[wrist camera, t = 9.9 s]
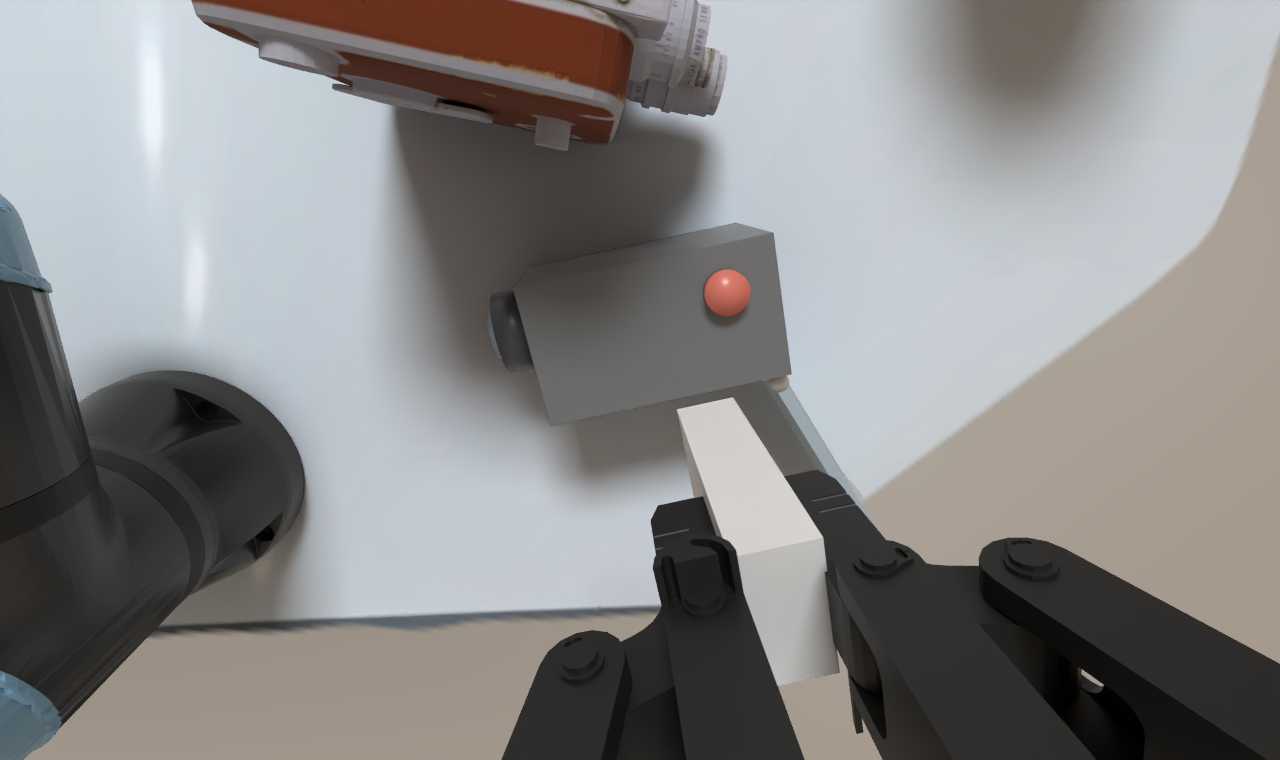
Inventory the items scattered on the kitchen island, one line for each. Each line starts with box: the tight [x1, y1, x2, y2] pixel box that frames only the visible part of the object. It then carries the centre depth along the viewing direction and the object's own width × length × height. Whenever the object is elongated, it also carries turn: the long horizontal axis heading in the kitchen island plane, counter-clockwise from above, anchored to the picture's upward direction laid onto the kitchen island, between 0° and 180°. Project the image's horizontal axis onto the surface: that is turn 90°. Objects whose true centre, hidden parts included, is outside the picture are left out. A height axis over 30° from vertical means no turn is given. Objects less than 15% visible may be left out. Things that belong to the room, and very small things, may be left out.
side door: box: [763, 376, 874, 525], centre depth 40 cm, size 13×2×7 cm, turn 33°
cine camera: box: [192, 0, 727, 151], centre depth 27 cm, size 9×19×20 cm, turn 79°
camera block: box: [487, 223, 791, 426], centre depth 37 cm, size 16×8×10 cm, turn 101°
